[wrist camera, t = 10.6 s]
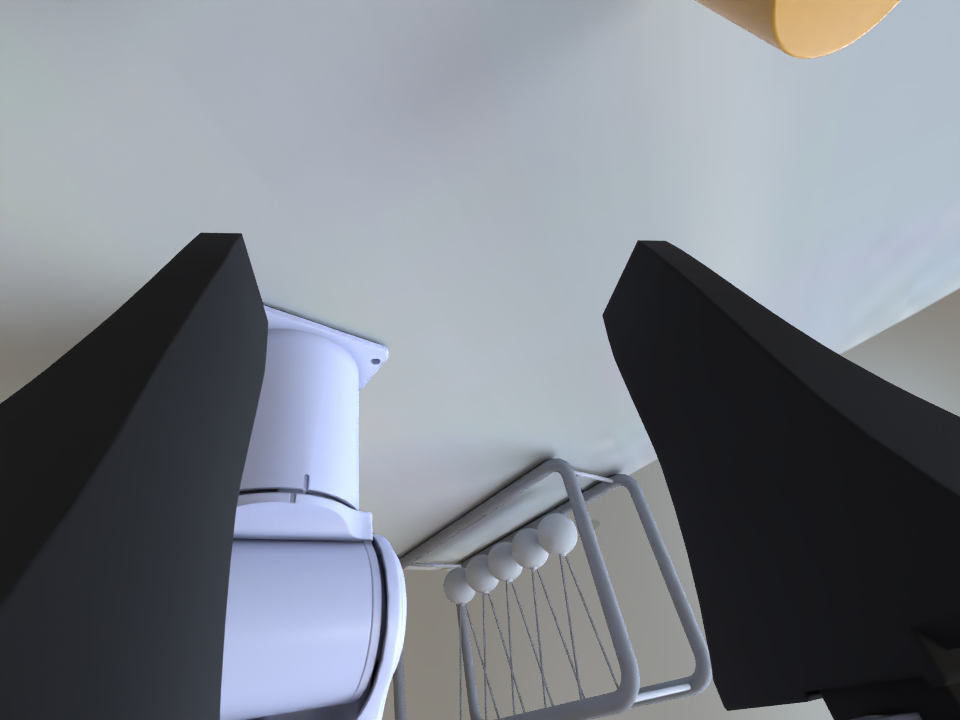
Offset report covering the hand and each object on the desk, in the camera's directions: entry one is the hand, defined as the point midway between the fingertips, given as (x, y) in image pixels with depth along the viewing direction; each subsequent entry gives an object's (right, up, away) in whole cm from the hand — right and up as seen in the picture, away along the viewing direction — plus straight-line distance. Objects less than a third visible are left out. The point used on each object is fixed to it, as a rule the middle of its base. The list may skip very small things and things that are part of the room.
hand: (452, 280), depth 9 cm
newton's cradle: (+2, -19, +41) cm, 45 cm away
